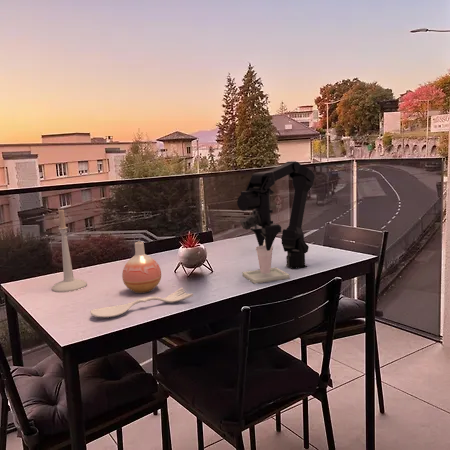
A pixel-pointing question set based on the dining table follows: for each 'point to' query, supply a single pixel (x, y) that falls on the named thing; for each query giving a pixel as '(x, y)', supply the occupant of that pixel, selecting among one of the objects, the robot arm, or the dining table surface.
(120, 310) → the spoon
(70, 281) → the candlestick
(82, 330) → the dining table surface
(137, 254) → the vase
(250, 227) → the robot arm
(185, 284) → the dining table surface
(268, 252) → the smoothie
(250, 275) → the tray
